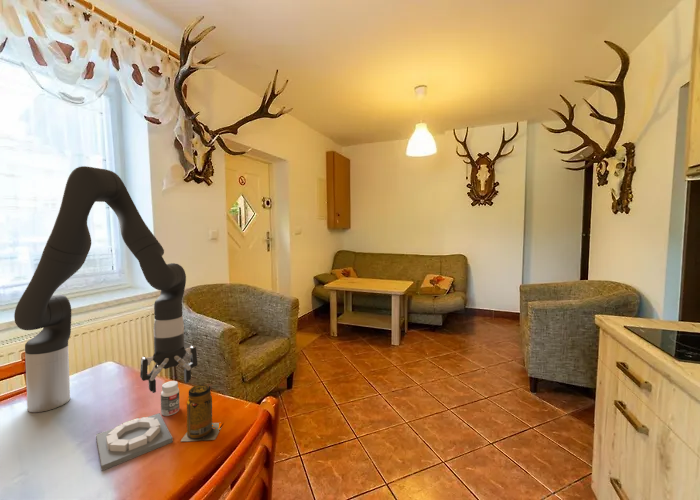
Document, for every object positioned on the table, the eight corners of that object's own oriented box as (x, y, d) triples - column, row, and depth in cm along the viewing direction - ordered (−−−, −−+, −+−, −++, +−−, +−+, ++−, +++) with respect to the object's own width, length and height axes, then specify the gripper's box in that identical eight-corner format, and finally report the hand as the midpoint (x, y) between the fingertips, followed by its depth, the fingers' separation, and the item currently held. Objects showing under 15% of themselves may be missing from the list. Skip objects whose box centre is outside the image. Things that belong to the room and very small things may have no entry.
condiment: (192, 424, 85) (191, 382, 84) (223, 423, 86) (223, 381, 85) (180, 442, 78) (179, 396, 77) (214, 440, 78) (214, 395, 78)
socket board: (96, 439, 78) (96, 428, 78) (159, 417, 88) (159, 407, 87) (101, 470, 68) (101, 459, 68) (172, 442, 78) (172, 431, 77)
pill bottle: (171, 417, 88) (170, 389, 87) (157, 415, 89) (156, 387, 88) (183, 408, 92) (182, 381, 92) (169, 406, 93) (169, 379, 93)
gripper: (191, 324, 96) (192, 374, 97) (137, 334, 87) (139, 390, 88) (199, 330, 91) (200, 383, 92) (142, 341, 81) (144, 400, 82)
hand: (170, 386), depth 90 cm, fingers open, 8 cm apart
